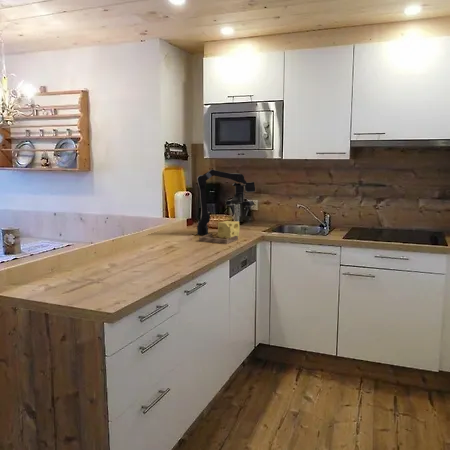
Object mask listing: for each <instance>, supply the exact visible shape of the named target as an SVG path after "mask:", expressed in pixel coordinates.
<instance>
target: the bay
mask: <svg viewBox="0 0 450 450" xmlns="http://www.w3.org/2000/svg"><path fill="white" fill-rule="evenodd" d="M238 240H239V237H238V236H233V237H231V238H228V239H227V238H220V237H218V238H216V237H213V233H209V234H207V235H200V236H199V237H198V241H199V242H205V243H215V244H225V245H228V244H231V243H234V242H235V241H238Z"/></svg>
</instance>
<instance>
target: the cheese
mask: <svg viewBox="0 0 450 450" xmlns="http://www.w3.org/2000/svg"><path fill="white" fill-rule="evenodd" d="M233 236H238V238H239V237H240V221H233V220H232V221H230V220H224V221H220V222H219V221H218V222H217V237H218V238H219V239H228V238H231V237H233Z"/></svg>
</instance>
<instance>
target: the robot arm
mask: <svg viewBox="0 0 450 450" xmlns="http://www.w3.org/2000/svg"><path fill="white" fill-rule="evenodd" d="M213 176H214V177H219V178H225V179H229V180H231V181H235V182H234V183H232V187H234V189H235V190H234V192H235V194H234V195H233V197H232V198H231V199H228V200H226V201H225V205H226V206H227V207H229V208H230V210H231V211H230V212H231V213H232V216H235V211H236V206H237V205H244V215H245V217H247V215H248V212H249V210H250V209H251V207H252V206H255V205H254V203H255V202H254V201H253V200H245V197H244V196H245V192H246V193H256V185H255V182H254V181H251V182H247V180H246V179H245V176H244V175H243V174H242V173H231V172H226V171H225V172H224V171H220V170H215V169H210V170H208V171H207V172H205V173H204V174H199V175H198V176H197V177H196V181H197V185H198V188H199V194H200V195H199V197H200V207H201V209H200V210H201V211H200V219H199V220H198V221H197V225H196V229H197V230H196V231H197V232H196V234H195V235H197V236H204V235H207V234H210V233H209V228H208V224H209V223H210V220H211V219H212V218H211V212H210V211H208V203H207V194H206V193H207V192H206V191H207V190H206V188H207V187H206V186H207V181H208V180H209V179H210V178H212V177H213ZM244 191H245V192H244Z"/></svg>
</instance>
